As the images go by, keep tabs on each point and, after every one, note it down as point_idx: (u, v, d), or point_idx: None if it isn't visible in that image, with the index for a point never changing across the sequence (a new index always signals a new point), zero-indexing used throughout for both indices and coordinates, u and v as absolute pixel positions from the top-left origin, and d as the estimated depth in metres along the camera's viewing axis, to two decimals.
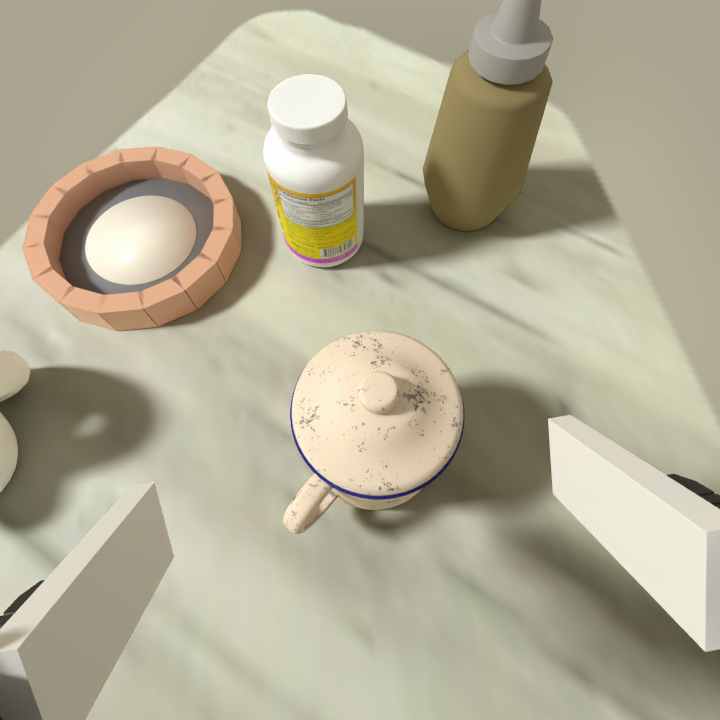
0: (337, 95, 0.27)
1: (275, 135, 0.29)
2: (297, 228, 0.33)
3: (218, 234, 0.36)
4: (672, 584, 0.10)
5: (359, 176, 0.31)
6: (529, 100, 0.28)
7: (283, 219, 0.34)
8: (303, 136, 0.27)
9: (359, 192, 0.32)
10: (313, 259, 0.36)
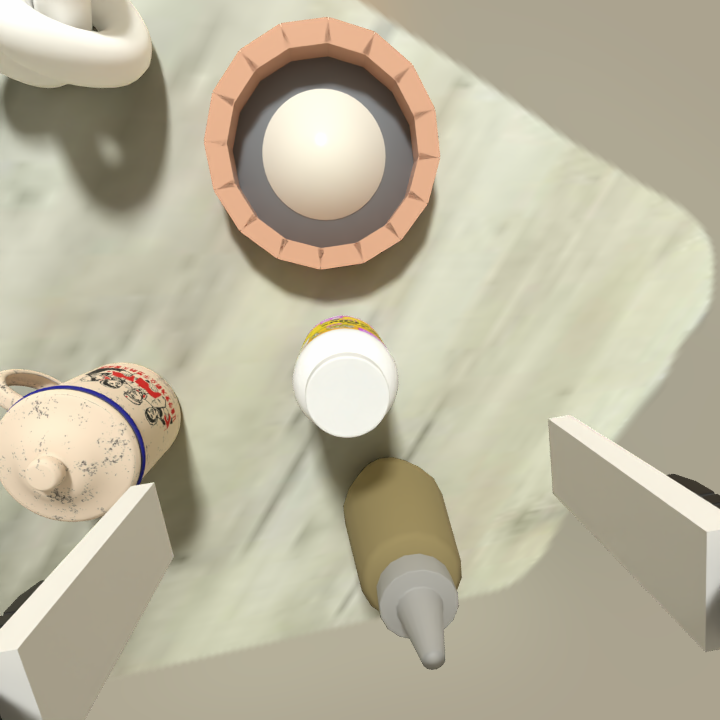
0: (355, 428, 0.25)
1: (343, 349, 0.27)
2: None
3: (313, 255, 0.33)
4: (672, 584, 0.10)
5: None
6: (372, 600, 0.29)
7: (313, 332, 0.32)
8: None
9: None
10: None
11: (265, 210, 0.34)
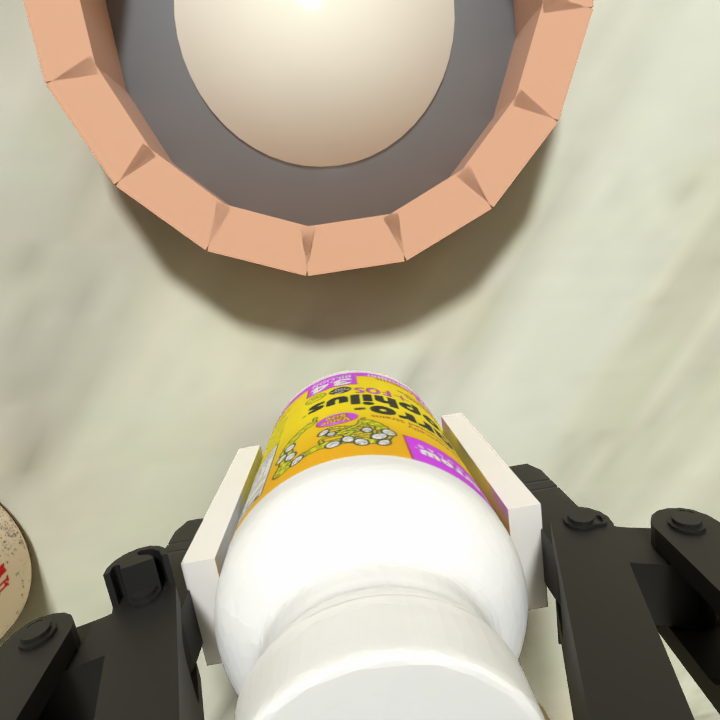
0: None
1: (370, 546, 0.08)
2: None
3: (289, 242, 0.14)
4: None
5: None
6: None
7: (288, 428, 0.13)
8: None
9: None
10: None
11: (186, 144, 0.15)
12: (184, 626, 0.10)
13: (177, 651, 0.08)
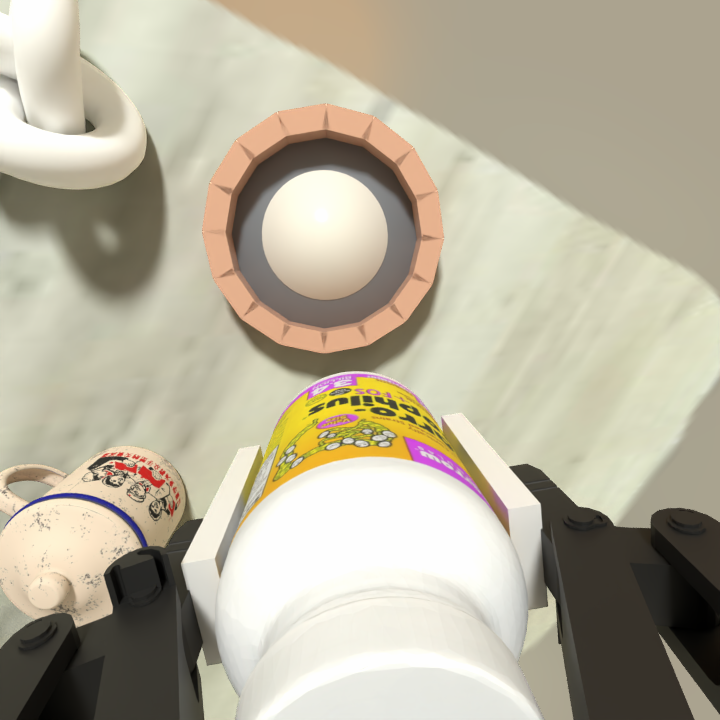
0: None
1: (370, 548, 0.08)
2: (260, 467, 0.14)
3: (316, 339, 0.32)
4: None
5: None
6: None
7: (289, 429, 0.13)
8: None
9: None
10: None
11: (266, 292, 0.33)
12: (184, 626, 0.10)
13: (177, 651, 0.08)
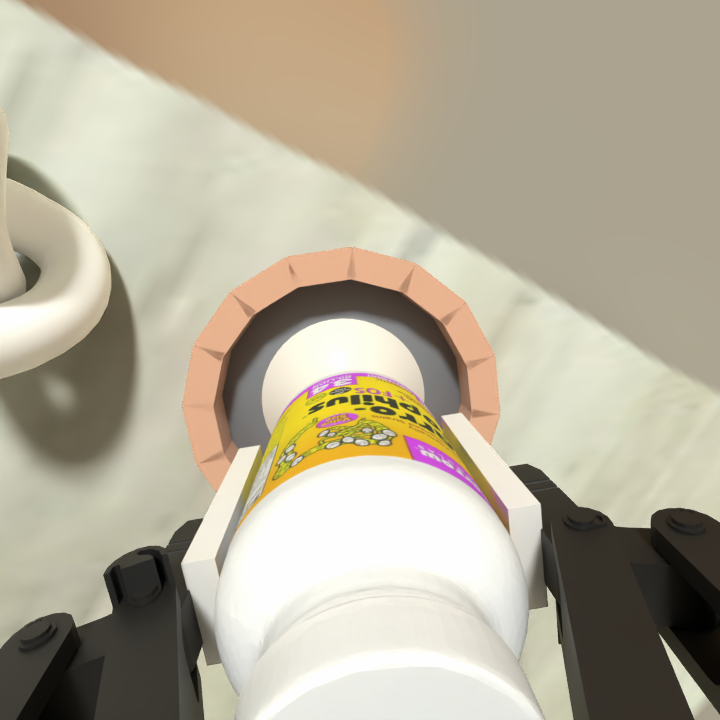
0: None
1: (370, 547, 0.08)
2: None
3: None
4: None
5: None
6: None
7: (288, 428, 0.13)
8: None
9: None
10: None
11: None
12: (184, 626, 0.10)
13: (177, 651, 0.08)
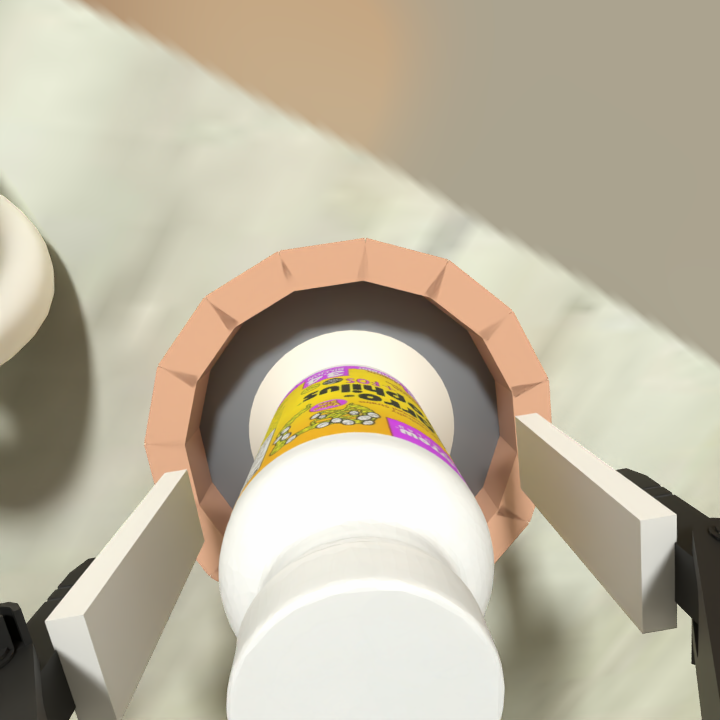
0: None
1: (352, 507, 0.09)
2: None
3: None
4: (615, 571, 0.10)
5: None
6: None
7: (285, 414, 0.15)
8: None
9: None
10: None
11: None
12: (42, 695, 0.09)
13: (36, 715, 0.07)
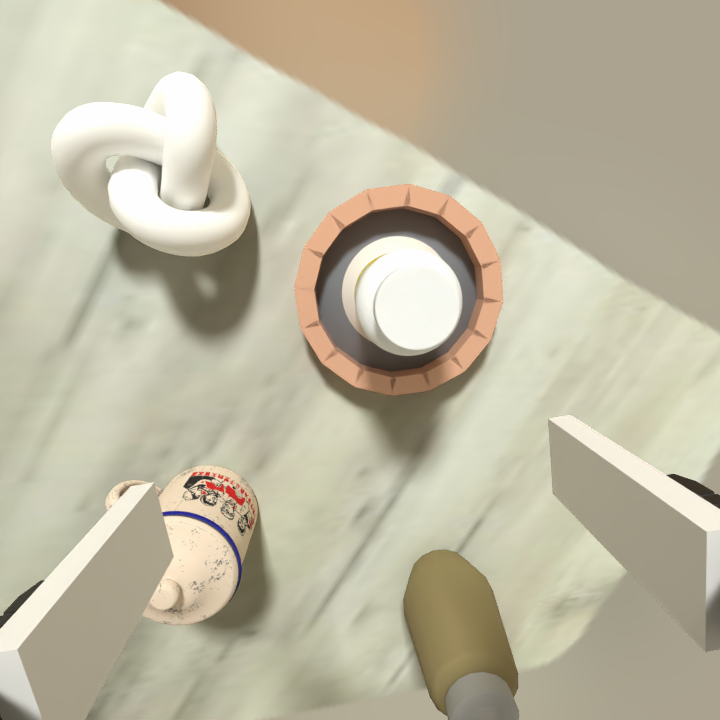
0: (424, 340, 0.25)
1: (410, 265, 0.27)
2: None
3: (385, 383, 0.37)
4: (672, 585, 0.10)
5: None
6: (438, 706, 0.33)
7: (371, 262, 0.32)
8: (373, 306, 0.25)
9: None
10: None
11: (342, 338, 0.38)
12: None
13: None
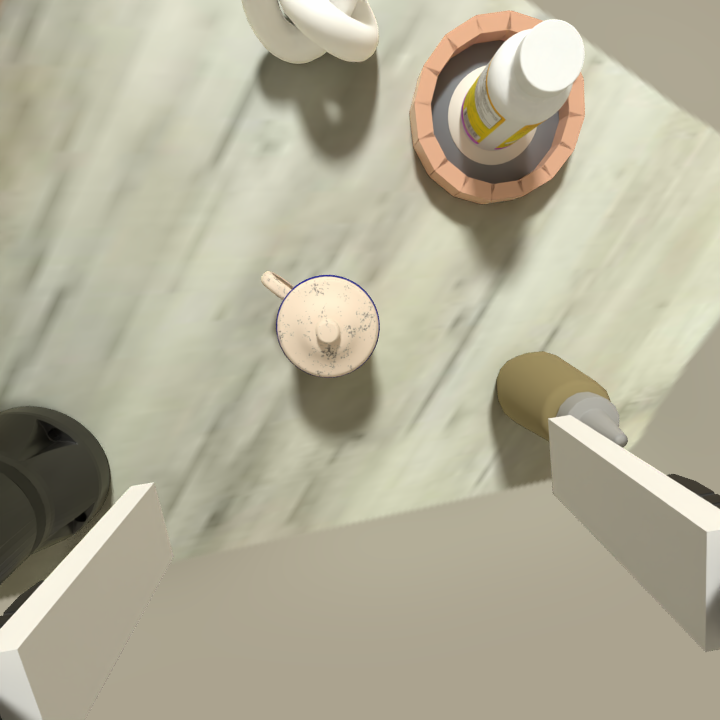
0: (557, 83, 0.32)
1: None
2: (477, 80, 0.39)
3: (486, 189, 0.44)
4: (672, 584, 0.10)
5: (509, 124, 0.37)
6: (547, 431, 0.40)
7: None
8: (516, 58, 0.33)
9: (503, 129, 0.39)
10: (463, 104, 0.43)
11: (446, 157, 0.45)
12: None
13: None
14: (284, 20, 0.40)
